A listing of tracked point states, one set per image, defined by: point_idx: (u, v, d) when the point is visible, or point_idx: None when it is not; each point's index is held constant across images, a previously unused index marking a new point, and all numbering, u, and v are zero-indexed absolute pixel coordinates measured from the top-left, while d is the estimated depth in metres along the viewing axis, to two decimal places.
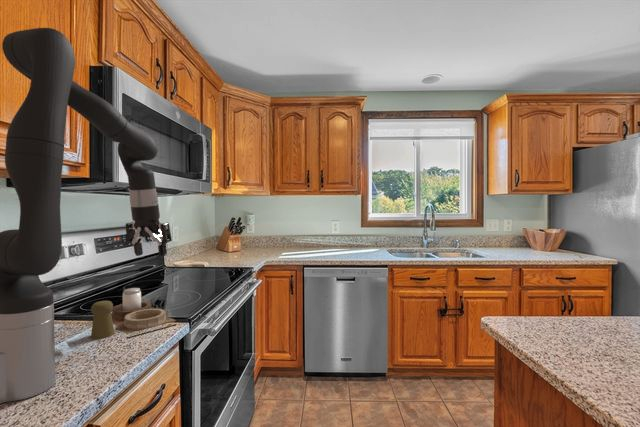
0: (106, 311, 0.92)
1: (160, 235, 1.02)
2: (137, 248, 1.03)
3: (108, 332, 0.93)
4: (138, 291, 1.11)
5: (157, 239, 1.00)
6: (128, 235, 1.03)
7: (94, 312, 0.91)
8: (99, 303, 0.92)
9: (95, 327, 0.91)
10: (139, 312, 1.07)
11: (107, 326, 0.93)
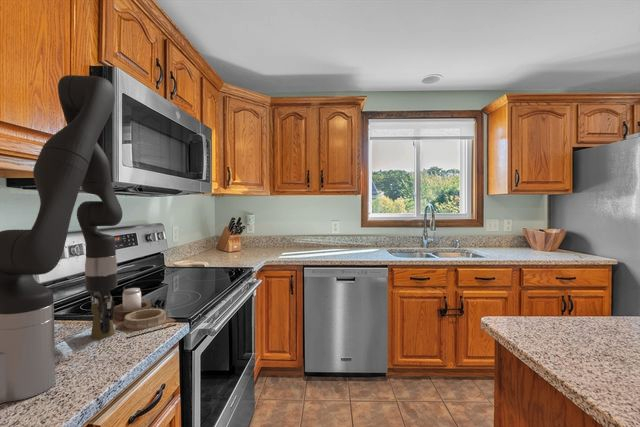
0: None
1: None
2: None
3: None
4: (138, 291, 1.11)
5: (100, 315, 0.91)
6: None
7: (94, 312, 0.91)
8: None
9: (95, 327, 0.91)
10: (139, 312, 1.07)
11: None
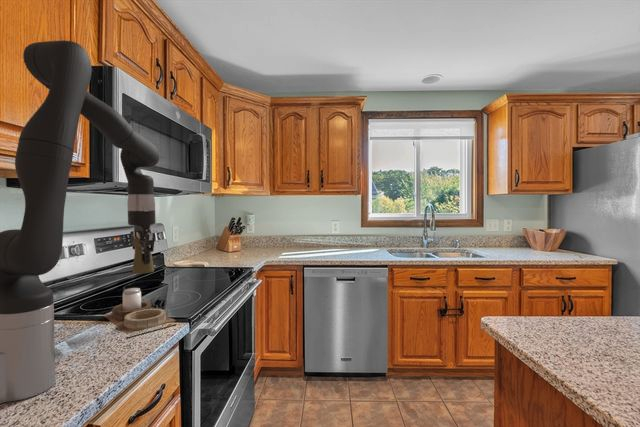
0: None
1: None
2: None
3: (149, 263, 1.02)
4: (138, 291, 1.11)
5: (141, 247, 1.00)
6: (132, 242, 1.05)
7: (136, 244, 1.00)
8: None
9: (137, 258, 1.01)
10: (139, 312, 1.07)
11: None
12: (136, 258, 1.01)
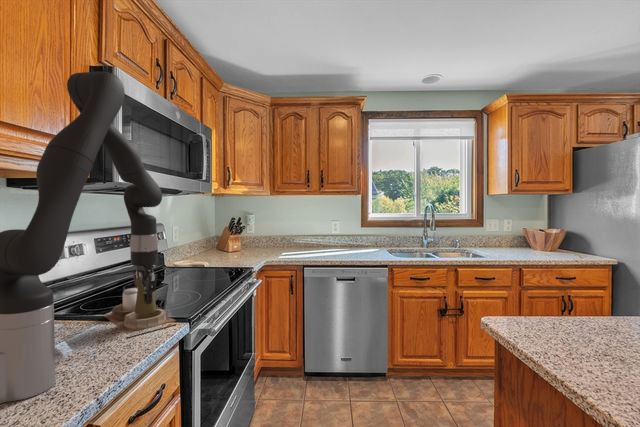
0: None
1: None
2: None
3: None
4: None
5: (144, 287, 1.01)
6: (135, 281, 1.06)
7: (139, 284, 1.01)
8: None
9: (139, 298, 1.01)
10: None
11: None
12: (138, 298, 1.01)
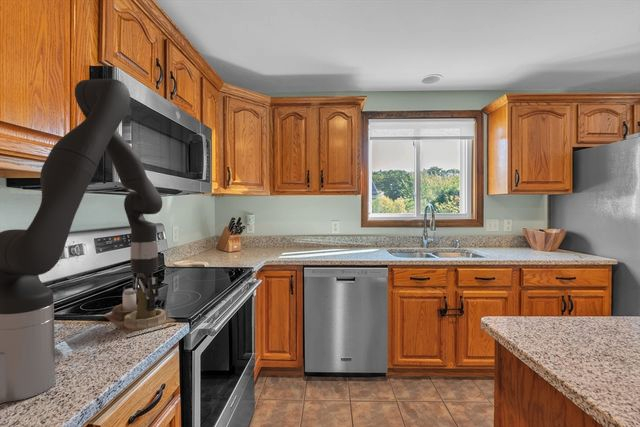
0: None
1: None
2: (137, 298, 1.06)
3: (152, 315, 1.02)
4: None
5: (146, 293, 1.00)
6: (133, 284, 1.07)
7: (140, 297, 1.00)
8: None
9: (140, 311, 1.01)
10: None
11: None
12: (139, 310, 1.01)
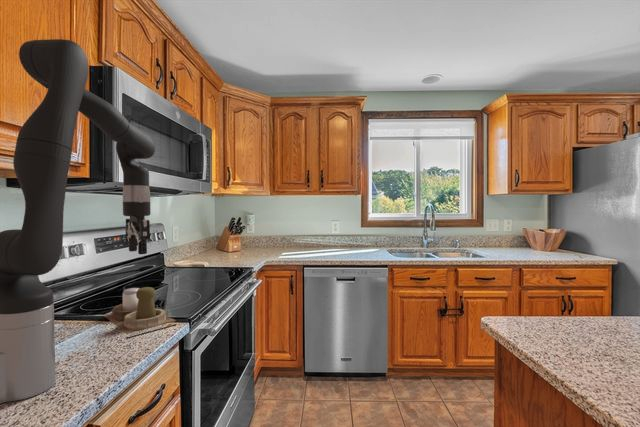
0: (150, 296, 1.02)
1: (143, 232, 1.01)
2: (130, 244, 1.06)
3: (152, 315, 1.02)
4: None
5: (137, 235, 1.00)
6: (126, 230, 1.07)
7: (140, 297, 1.01)
8: (144, 289, 1.02)
9: (140, 311, 1.01)
10: None
11: (151, 310, 1.02)
12: (139, 310, 1.01)
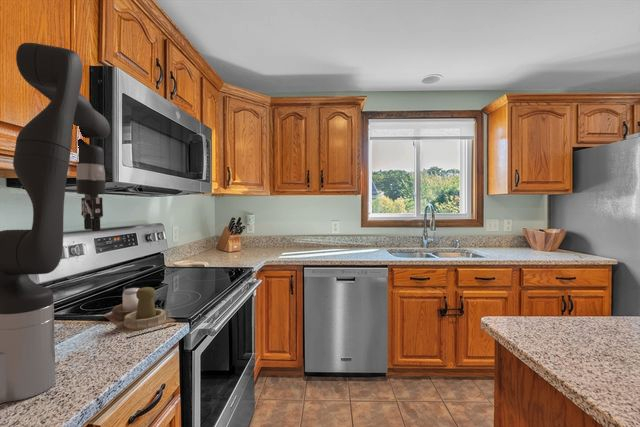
0: (150, 296, 1.02)
1: (96, 210, 1.03)
2: (85, 222, 1.08)
3: (152, 315, 1.02)
4: None
5: (90, 213, 1.02)
6: None
7: (140, 297, 1.01)
8: (143, 289, 1.02)
9: (140, 311, 1.01)
10: None
11: (151, 310, 1.02)
12: (139, 310, 1.01)
